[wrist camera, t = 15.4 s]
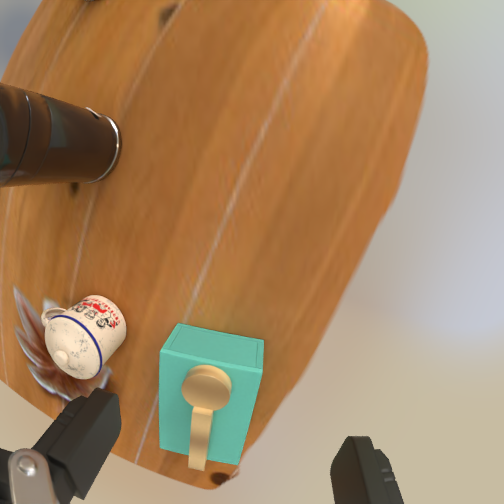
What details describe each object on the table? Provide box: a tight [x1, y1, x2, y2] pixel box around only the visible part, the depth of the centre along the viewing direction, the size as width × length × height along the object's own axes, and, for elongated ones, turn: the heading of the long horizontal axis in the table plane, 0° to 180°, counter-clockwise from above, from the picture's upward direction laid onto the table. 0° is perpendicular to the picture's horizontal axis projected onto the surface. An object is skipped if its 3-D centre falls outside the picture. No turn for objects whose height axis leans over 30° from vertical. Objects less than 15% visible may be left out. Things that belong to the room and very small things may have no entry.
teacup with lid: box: [41, 295, 126, 379], centre depth 34 cm, size 12×9×12 cm
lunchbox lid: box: [159, 348, 263, 465], centre depth 34 cm, size 18×12×1 cm, turn 170°
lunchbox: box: [162, 323, 264, 369], centre depth 37 cm, size 18×12×7 cm, turn 170°
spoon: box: [181, 365, 232, 471], centre depth 32 cm, size 17×5×3 cm, turn 170°
